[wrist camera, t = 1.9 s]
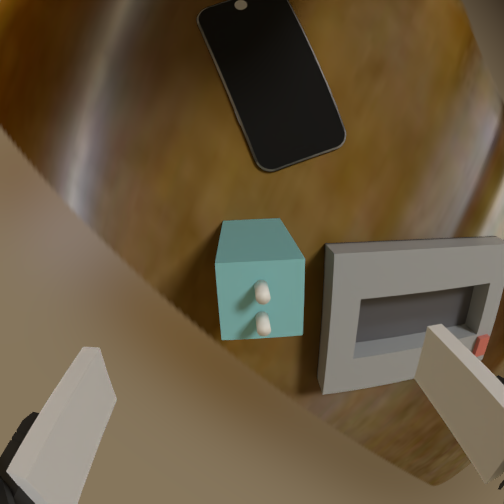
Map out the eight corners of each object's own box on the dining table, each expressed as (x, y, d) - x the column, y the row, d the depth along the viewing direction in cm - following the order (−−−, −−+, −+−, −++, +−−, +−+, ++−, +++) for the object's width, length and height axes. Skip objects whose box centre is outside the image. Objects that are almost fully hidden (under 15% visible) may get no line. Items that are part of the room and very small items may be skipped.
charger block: (222, 220, 26) (212, 273, 15) (279, 218, 26) (310, 268, 15) (226, 274, 27) (220, 354, 16) (280, 271, 27) (307, 349, 16)
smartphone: (281, -15, 19) (351, 144, 24) (280, -11, 20) (348, 144, 24) (191, 11, 20) (260, 176, 24) (192, 15, 21) (260, 175, 25)
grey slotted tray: (324, 243, 27) (336, 256, 23) (495, 236, 27) (515, 245, 24) (316, 376, 31) (324, 398, 28) (469, 347, 31) (484, 362, 28)
